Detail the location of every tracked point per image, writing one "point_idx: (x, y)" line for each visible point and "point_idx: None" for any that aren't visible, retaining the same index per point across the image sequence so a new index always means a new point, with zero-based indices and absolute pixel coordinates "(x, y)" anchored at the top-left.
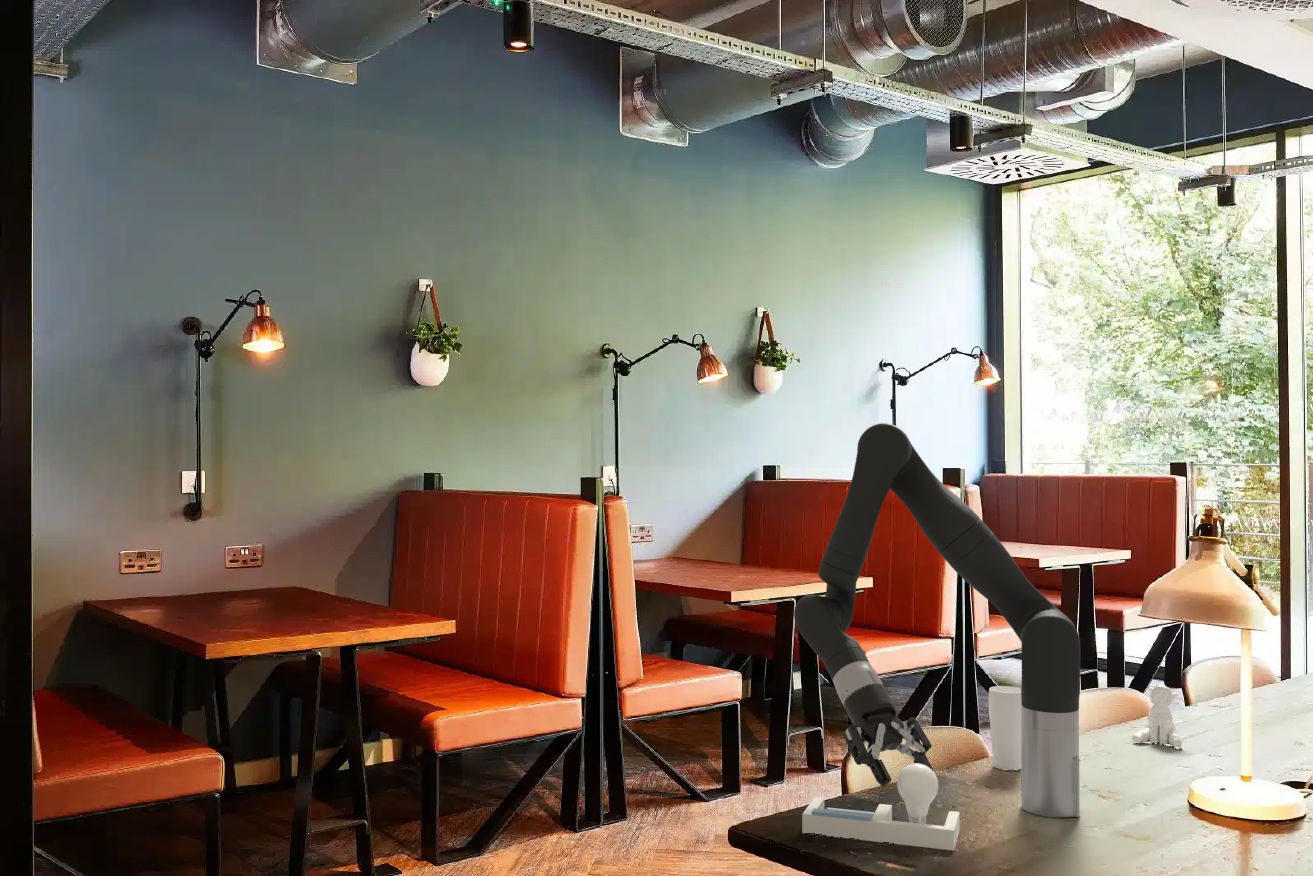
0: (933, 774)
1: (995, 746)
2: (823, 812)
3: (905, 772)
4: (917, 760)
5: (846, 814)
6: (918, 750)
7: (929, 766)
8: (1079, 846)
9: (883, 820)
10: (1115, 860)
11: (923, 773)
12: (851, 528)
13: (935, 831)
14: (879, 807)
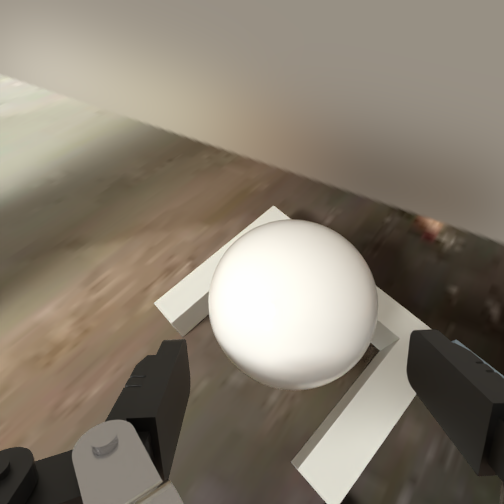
0: (253, 229)
1: None
2: None
3: (369, 277)
4: (165, 440)
5: None
6: (137, 443)
7: (158, 355)
8: (49, 167)
9: (406, 333)
10: (70, 115)
11: (308, 222)
12: None
13: None
14: (358, 463)
